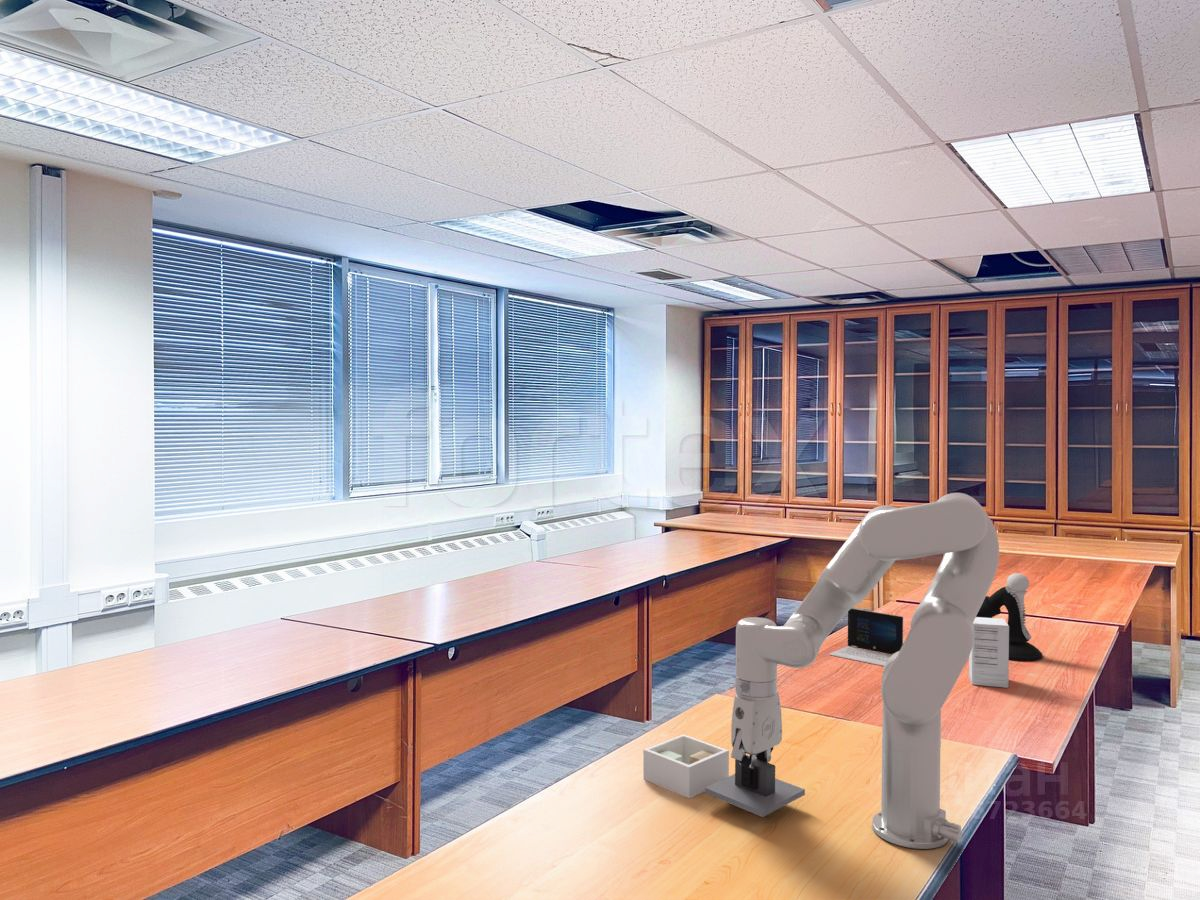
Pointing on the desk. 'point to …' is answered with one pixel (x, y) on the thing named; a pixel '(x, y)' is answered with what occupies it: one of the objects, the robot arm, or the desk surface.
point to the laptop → (872, 637)
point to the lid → (762, 799)
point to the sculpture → (1012, 617)
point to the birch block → (699, 756)
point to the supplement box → (989, 652)
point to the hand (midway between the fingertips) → (755, 783)
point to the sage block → (673, 755)
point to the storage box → (685, 765)
